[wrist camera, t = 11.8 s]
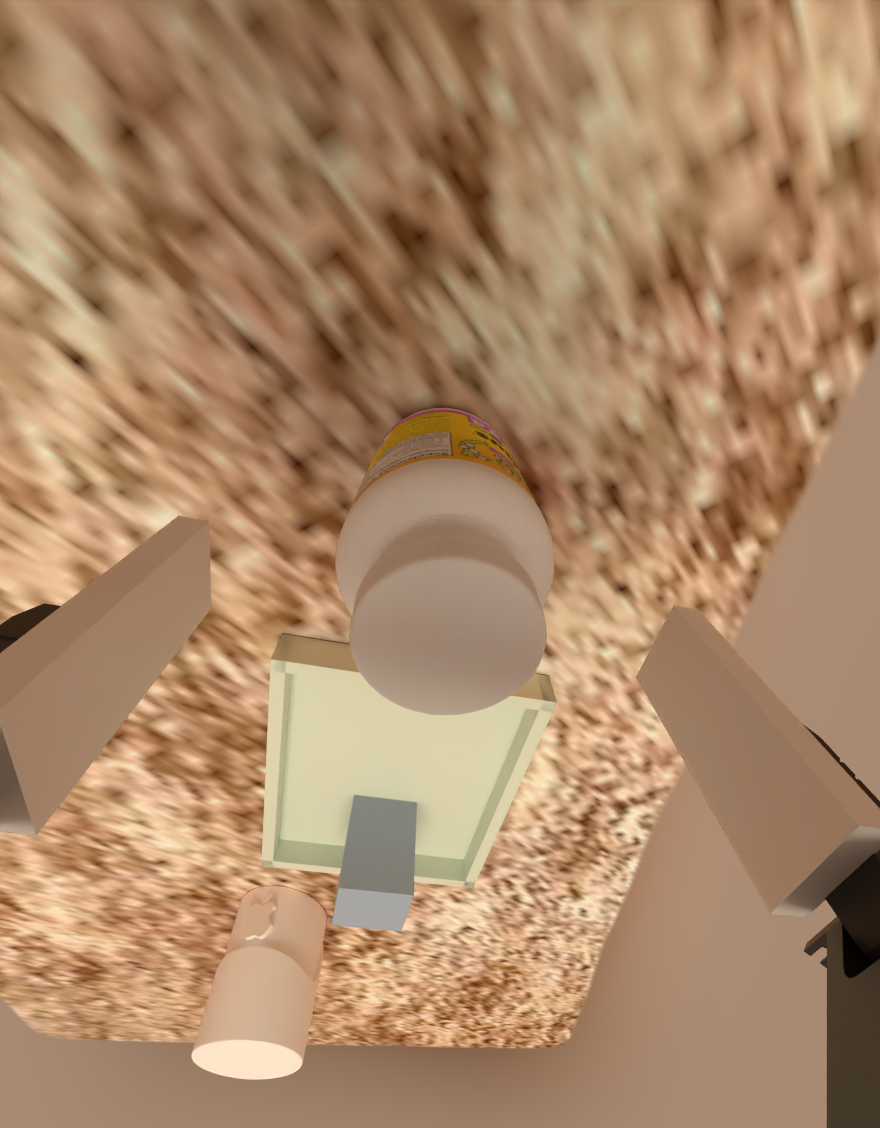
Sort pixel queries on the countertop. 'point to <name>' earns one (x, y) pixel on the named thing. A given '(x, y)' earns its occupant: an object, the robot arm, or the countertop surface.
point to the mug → (264, 987)
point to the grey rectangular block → (377, 865)
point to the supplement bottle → (445, 567)
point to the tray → (387, 764)
